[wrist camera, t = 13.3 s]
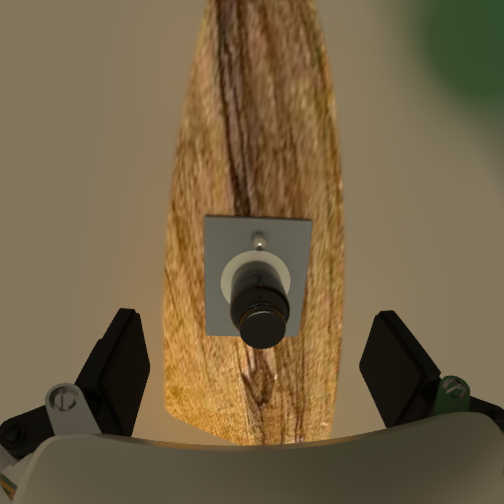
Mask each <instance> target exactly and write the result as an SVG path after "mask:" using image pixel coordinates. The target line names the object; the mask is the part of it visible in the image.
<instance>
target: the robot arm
mask: <svg viewBox="0 0 504 504" xmlns="http://www.w3.org/2000/svg"><path fill="white" fill-rule="evenodd" d="M359 368H360V372H361V374H362V376H363V378H364V380H365V382H366V384H367V386H368V389H369V391H370V393H371V395H372V397H373V399H374V402H375V404H376V406H377V408H378V411H379V413H380V415H381V417H382V419H383V422H384V424H385V426H386V428H387V429H382V430H379V431H374V432H369V433H364V434H358V435H353V436H347V437H341V438H335V439H328V440H320V441H312V442H303V443H291V444H277V445H252V446H223V445H198V444H184V443H174V442H164V441H154V440H147V439H140V438H133V437H131V435H132V432H133V428H134V424H135V421H136V417H137V414H138V410H139V407H140V403H141V400H142V396H143V393H144V389H145V386H146V383H147V379H148V376H149V373H150V362H149V358H148V353H147V349H146V344H145V339H144V334H143V330H142V323H141V318H140V314H139V313H136V312H135V310H134V309H126V308H120V309H119V311H118V312H117V314H116V315H115V317H114V319H113V320H112V322H111V324H110V326H109V327H108V329H107V331H106V333H105V334H104V336H103V338H102V339H99V340H98V341H97V343H96V345H95V347H94V348H93V350H92V352H91V354H90V356H89V357H88V359H87V361H86V363H85V365H84V366H83V368H82V370H81V372H80V374H79V376H78V378H77V380H76V382H75V384H70V383H61V384H58V385H56V386H53V387H52V388H51V389H50V390H49V391H48V393H47V394H46V397H45V405H44V406H41V407H39V408H36V409H34V410H31V411H29V412H26V413H23V414H21V415H18V416H16V417H13V418H10V419H8V420H6V421H4V422H3V423H2V424H1V426H0V504H504V410H503V409H502V408H501V407H499V406H497V405H494V404H491V403H488V402H486V401H483V400H480V399H477V398H475V397H472V396H470V388H469V386H468V384H467V383H466V382H465V381H464V380H463V379H461V378H459V377H457V376H451V375H450V376H446V377H444V378H443V379H441V378H440V377H439V375H440V374H441V372H440V370H439V369H438V368H437V366H436V365H435V363H434V362H433V361H432V359H431V358H430V357H429V355H428V354H427V353H426V351H425V350H424V349H423V347H422V346H421V345H420V343H419V342H418V341H417V339H416V338H415V337H414V336H413V334H412V333H411V332H410V330H409V329H408V328H407V327H406V325H405V324H404V323H403V321H402V320H401V319H400V318H399V317H398V315H397V314H396V313H395V312H394V311H392V310H389V311H380V312H379V314H378V315H376V316H375V318H374V321H373V325H372V328H371V331H370V334H369V337H368V340H367V343H366V346H365V349H364V352H363V355H362V358H361V361H360V364H359Z"/></svg>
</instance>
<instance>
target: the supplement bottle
mask: <svg viewBox="0 0 504 504" xmlns="http://www.w3.org/2000/svg"><path fill="white" fill-rule="evenodd" d="M289 316H290V304H289V301H288V298H287V295H286V292H285V289H284V286H283V284H282V281H281V278H280V276H279V274H278V272H277V271H276V269H275V268H274V267H273V266H271V265H270V264H268V263H265V262H261V261H252V262H248V263H246V264H244V265H242V266H241V267H239V268H238V269H237V270H236V272H235V273H234V275H233V278H232V281H231V296H230V317H231V320H232V323H233V325H234V326H235V328H236V329H237V330H238V331H239V333H240V335H241V338H242V339H243V341H244V342H245V343H246V344H247V345H249V346H251V347H253V348H256V349H267V348H271V347H273V346H275V345H276V344H278V343H279V342H280V341H281V340H282V339H283V338H284V335H285V332H286V324H287V322H288V320H289Z"/></svg>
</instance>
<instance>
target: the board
mask: <svg viewBox="0 0 504 504" xmlns="http://www.w3.org/2000/svg"><path fill="white" fill-rule="evenodd" d="M312 224H313V221H312V220H310V219H291V218H269V217H243V216H209V215H206V216H205V311H206V335H211V336H241V335H240V333H239V331H238V330H237V329H236V328H235V326H234V325H233V323H232V320H231V317H230V296H231V281H232V278H233V275H234V273H235V272H236V270H237V269H238V268H239V267H241V266H242V265H244V264H246V263H248V262H252V261H261V262H265V263H268V264H270V265H271V266H273V267H274V268H275V269H276V271H277V272H278V274H279V276H280V278H281V281H282V284H283V286H284V289H285V292H286V295H287V298H288V301H289V304H290V316H289V320H288V322H287V324H286V332H285V335H284V337H286V336H298V331H299V325H300V318H301V312H302V305H303V298H304V291H305V283H306V275H307V268H308V259H309V251H310V242H311V233H312Z"/></svg>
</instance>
